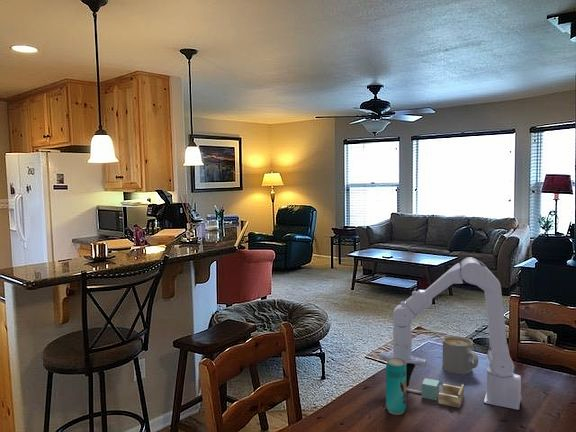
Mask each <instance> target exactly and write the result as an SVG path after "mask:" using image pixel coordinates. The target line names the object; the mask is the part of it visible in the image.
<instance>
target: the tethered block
mask: <svg viewBox="0 0 576 432" xmlns="http://www.w3.org/2000/svg"><path fill="white" fill-rule="evenodd" d="M406 392H410V393H415V394H416V393H417V394H421V398H423V399H428V400H433V401H437V400H438V397H439V393H440V380H438V379H437V380H436V379H431V378H428V377H427V378H423V381H422V383H421V390H417V389H412V388H408V387H406Z"/></svg>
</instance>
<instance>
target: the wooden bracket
mask: <svg viewBox="0 0 576 432" xmlns="http://www.w3.org/2000/svg"><path fill="white" fill-rule="evenodd" d="M464 396H465V385H464V383H462V384H461V386H457V385H453V384H452V385H451V384H447V383H443V384H442V392H439V396H438V398H437V400H438V401H437V402H438V404H441V405H444V406H449V407H455V408H461V405H462V403H463V401H464V398H465V397H464Z"/></svg>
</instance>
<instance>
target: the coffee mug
mask: <svg viewBox="0 0 576 432" xmlns="http://www.w3.org/2000/svg"><path fill="white" fill-rule="evenodd" d="M473 346H474V342H473V340H472V339H470V338H467V337H465V336H460V335H449V336H444V337H443V338H442V366H441V367H442V369H443V370H444V371H446V372H448V373H450V374H455V375H467V374H470V373H472V372H473V369H475V368H477V367H478V365H479V356H478V354H477V353H476V352H475V351H473V349H474V347H473Z"/></svg>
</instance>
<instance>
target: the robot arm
mask: <svg viewBox="0 0 576 432" xmlns="http://www.w3.org/2000/svg"><path fill="white" fill-rule="evenodd" d="M464 281H465V282H466V283H468V284H470V285H474V286H477V287H478V288H479V289H481V290H483V291H484V300H485V309H486V318H487V328H488V335H489V337H488V338H489V348H488V351H487V359H488V361H489V365H488V367H487V369H486V393H485V395H484V396H485V397H484V400H483V403H484V404H487V405H493V406H497V407H502V408H507V409H512V410H516V411H517V410H520V405H521V401H522V394H521V392H522V391H521V387H522V384H521V383H522V381H521V380H522V375H519V374H517V373H514V370H515V363H514V361H513V360H512V358H511V356H510V349H509V345H508V340H507V333H506V332H507V330H506V322H505V313H504V303H503V296H502V295H503V294H502V286H501V283H500V280H499V279H498V278H497V277H496V276H495V275H494V274H493V272H492V271H490V269H489V268H488V267H487V266H486V264H484V263H483V262H482V261H481V260H478V259H476V258H474V257H470V256H469V257H465V258H463V259H462V260H461V261H460V262H458V263H456V264H454V265H453V266H452V267H451V268H450V269H448V270H447V271H446V272H445V273H443V274H442V275H441V276H440V277H438V278H437V279H436V280H435V281H434V282H433V283H432V284H430V286H428V287H427V288H426V289H418V290H417V291H416V290H413V291H412V292H411V295H410V296H409V297H408V298H406V299H405V300H402V301H401V302H400V304H398V305H396V306H395V307H394V309H393V312H392V321H393V328H392V352H385V351H380V352H379V354H378V359H379V361H383V360H385V361H387V360H388V359H390V358H399V359H403V360H404V361H405V365H406V388H408V387H409V386H410V381H411V377H412V374H413V372H414V370H415V368H416V366H418V367H421V368H426V366H427V358H426V359H425V358H420V357H417V356H414V355H412V352H413V351H412V350H413V349H412V347H413V346H412V341H413V340H412V338H413V336H412V327H411V326H412V321H413V318H415V317H418V316H419V315H420V314H421V313H422V312H424V311H425V310H427V308H428V307H430V306H432V304H433V299H434V298H435V297H437V296H438V295H439V294H441V293H442V292H443V291H446V289H447V288H449V287H451V285H453V284H456V285H457V284H458V285H459V284H462V285H463V284H464Z"/></svg>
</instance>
